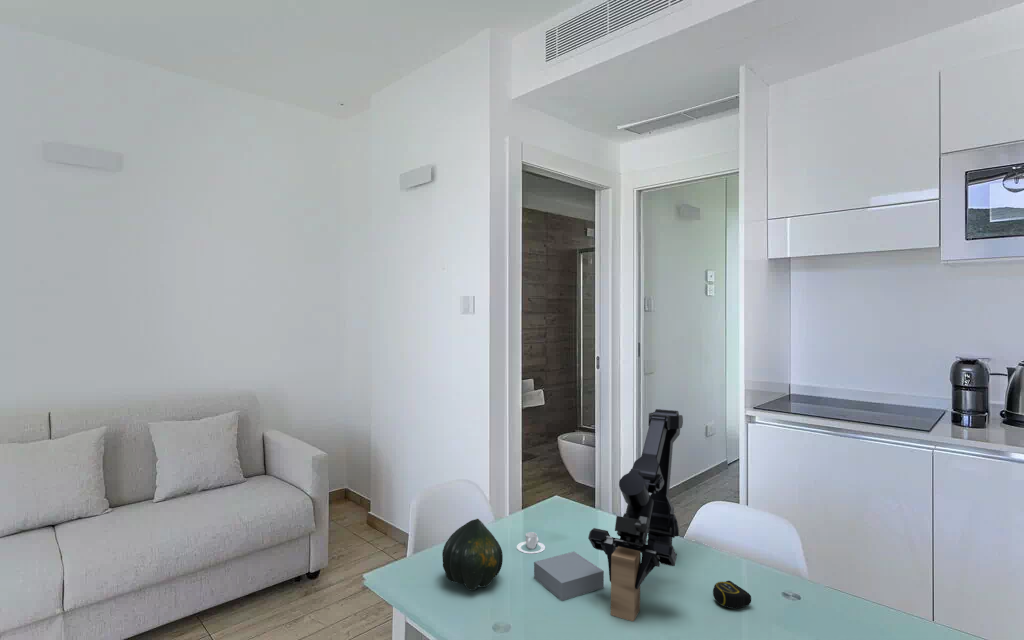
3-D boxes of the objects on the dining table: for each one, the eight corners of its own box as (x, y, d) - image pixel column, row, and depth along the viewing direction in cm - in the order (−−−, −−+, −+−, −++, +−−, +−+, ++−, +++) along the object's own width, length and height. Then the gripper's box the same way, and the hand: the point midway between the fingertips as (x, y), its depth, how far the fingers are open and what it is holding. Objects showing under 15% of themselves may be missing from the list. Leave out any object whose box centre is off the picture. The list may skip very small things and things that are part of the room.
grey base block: (573, 566, 137) (573, 551, 137) (603, 587, 126) (603, 570, 126) (534, 578, 131) (534, 561, 131) (561, 600, 120) (561, 583, 120)
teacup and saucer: (528, 539, 154) (528, 525, 154) (552, 546, 150) (552, 532, 150) (510, 550, 147) (511, 535, 147) (534, 557, 143) (535, 542, 143)
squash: (444, 581, 118) (484, 522, 123) (423, 557, 132) (460, 504, 137) (488, 612, 123) (524, 554, 128) (463, 585, 136) (497, 534, 141)
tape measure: (753, 609, 117) (753, 592, 117) (727, 614, 115) (727, 597, 115) (731, 594, 124) (731, 577, 124) (706, 598, 122) (706, 582, 122)
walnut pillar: (617, 603, 119) (618, 546, 119) (639, 610, 117) (640, 551, 116) (610, 614, 115) (611, 555, 114) (633, 621, 112) (634, 560, 112)
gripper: (591, 493, 123) (572, 559, 114) (673, 507, 114) (661, 580, 105) (602, 515, 130) (586, 580, 121) (680, 530, 121) (669, 601, 112)
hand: (623, 585), depth 114 cm, fingers closed on walnut pillar, 5 cm apart
